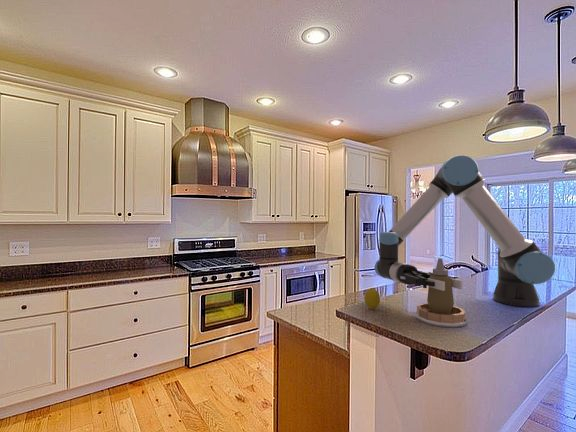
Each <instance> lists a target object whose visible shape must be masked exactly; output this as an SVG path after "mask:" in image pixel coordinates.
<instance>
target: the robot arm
mask: <svg viewBox="0 0 576 432" xmlns="http://www.w3.org/2000/svg"><path fill="white" fill-rule="evenodd" d="M485 180H486V179H485V177H484V176H483V175H482V173H481V172H480V170H479V164H478V163H477V162H476V160H475V159H473V158H472V157H470V156H469V155H466V154H465V155H464V154H461V155H455V156H452V157H450V158H448V159H447V160H446V161H445V162H444V163H443V164H442V165H441V167H440V168H439V170H438V171H437V173H436V175H435V176H434V178H433V179H432V180H431V181H430V182H429V183H428V185H429V187H428V188H427V189H426V190H425V191H424V192H423V193H422V194H421V195H420V196H419V198H418V199H417V200H416V201H415V202H414V203H413V204H412V205H411V207H409V209H408V210H406V212H405V213H404V215H402V216H401V217H400V219H398V221H397V222H396V223H395V224H394V225H393V226H392V228H391V229H389V231H382V232H380V233H379V240H378V244H379V259H378V260H377V261H376V262H375V263H374V272H375V273H376V274H377V276H379V277H381V278H383V279H387V280H390V281H391V280H392V281H395V282H397V284H404V285H408V286H411V285H412V286H414V285H415V286H418V287H422V288H423V289H427V288H429V287H431V288H435V289H439V290H442V291H445V282H443V281H439V280H435V279H431V278H430V276H431V275H434V274H433V272H431V271H429V272H428V271H422V270H418V267H416V266H415V265H413V264H408V263H403V262H399V247H400V246H401V244H402V243H403V242H404V241H405V240H406V239H407V238H408V237H409V235H411V234H412V233H413V231H414V230H415V229H416V228H417V227H418V226H419V225H420V224H421V223H422V221H424V220H425V219H426V218H427V216H429V214H430V213H431V212H432V211H433V210H434V209H435V208H436V207H437V206H438V205H439V204H440V203H441V202H442V200H444V199H447V198H449V196H451V195H452V194H453V195H454V197H457V198H461V199H462V200H463V202H464V203H465V204H466V205H467V207H468V208H469V210H470V211H471V212H472V214H473V215H474V216H475V218H476V219H477V220H478V221H479V223H480V224H481V226H482V227H483V228H484V230H485V231H486V233H487V234H488V235H489V236H490V237H491V239H492V240H493V241H494V243H495V244H496V245H497V282H496V286H495V288H494V292H493V293H492V297H493V298H492V299H493V300H494V302H497V303H501V304H504V305H505V304H506V305H511V306H517V307H527V308H529V307H532V308H533V307H539V306H540V297H539V295H538V293H537V290H536V288H535V285H541V284H544V283H546V282H548V281H550V280H551V278H553V276H554V275H555V271H556V265H555V261H554V260H553V259H552V257H551V256H549V255H548V254H546V253H545V252H542V251H541V250H540V248H539V247H538V246H537V245H536V244H537V243H535V242H534V240H532V239H529V238H528V239H527V238H525V237H524V235H523V234H522V232H521V231H520V230H519V229H518V228H517V226H516V225H515V224H514V223H513V221H512V220H511V219H510V217H509V216H508V215H507V214H506V212H505V211H504V210H503V208H502V207H501V206H500V204H499V203H498V202H497V200H496V199H495V198H494V196H493V195H492V194H491V192H490V191H489V190H488V189H487V188H486V186H485V185H484V184H485ZM447 276H449V277H450V278H451V281H452V288H454V289H459V290H463V280H461V279H456V278H452V277H451V276H450V275H449V274H448V275H447Z"/></svg>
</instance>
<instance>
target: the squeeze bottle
mask: <svg viewBox="0 0 576 432" xmlns="http://www.w3.org/2000/svg"><path fill="white" fill-rule="evenodd" d="M432 273H433V274H434V275H431V276H430V278H431V279H435V280H439V281H443V282H445V291H442V290H439V289H435V288H431V287H427V288H428V290H427V300H426V301H427V302H426V303H428V305H429V308H430V311H431V312H434V313H439V314H450V313H451V310H452V308H453V306H455V301H454V293H453V287H452V281H451V278H452V277H451V276H450V275H449V270H448V269H446V268H445V265H444V261H443V258H441V257H439V258H437V263H436V267H435V268H432ZM447 275H448V276H447ZM449 276H450V277H449Z"/></svg>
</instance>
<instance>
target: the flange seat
mask: <svg viewBox="0 0 576 432" xmlns="http://www.w3.org/2000/svg"><path fill="white" fill-rule="evenodd" d="M415 318H416V320H417V321H419V322H421V323H423V324H426V325H429V326H434V327H440V328H446V329H447V328H448V329H449V328H452V329H455V328H456V329H457V328H458V329H459V328H463V327H465V326H466V325H467V318H466V310H465V309H463V308H462V307H458V306H456V305H453V308H452V310H451V313H450V314H439V313H434V312H431V311H430V308H429V305H428V302H425V303H419V304H418V305H416V313H415Z"/></svg>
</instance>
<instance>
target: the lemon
mask: <svg viewBox="0 0 576 432" xmlns="http://www.w3.org/2000/svg"><path fill="white" fill-rule="evenodd" d="M380 302H381V297H380V294H379V292H378V290H377V289H375V288H373V287H371V288H369V289H367V290H366V291H365V293H364V303H365V306H366V307H368V308H370V310H375V309H376V308H378V306H379V305H380Z"/></svg>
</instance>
